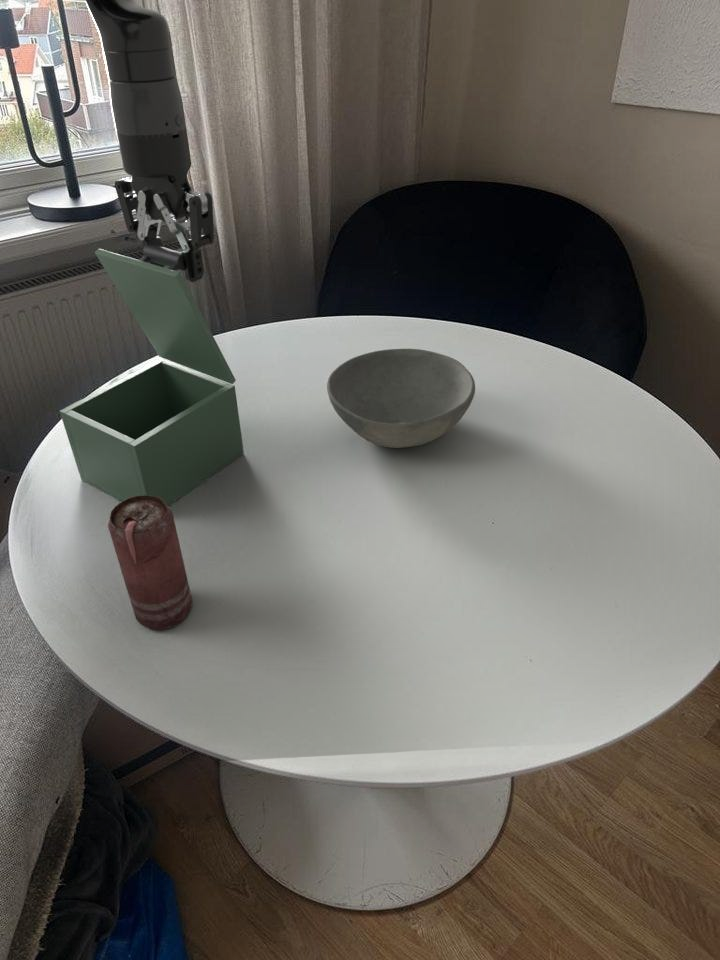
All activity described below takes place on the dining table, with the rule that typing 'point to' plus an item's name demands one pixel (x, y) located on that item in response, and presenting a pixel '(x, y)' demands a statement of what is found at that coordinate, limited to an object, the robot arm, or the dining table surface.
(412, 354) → the bowl
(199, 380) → the chest
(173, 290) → the lid
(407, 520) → the dining table surface
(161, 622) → the can
